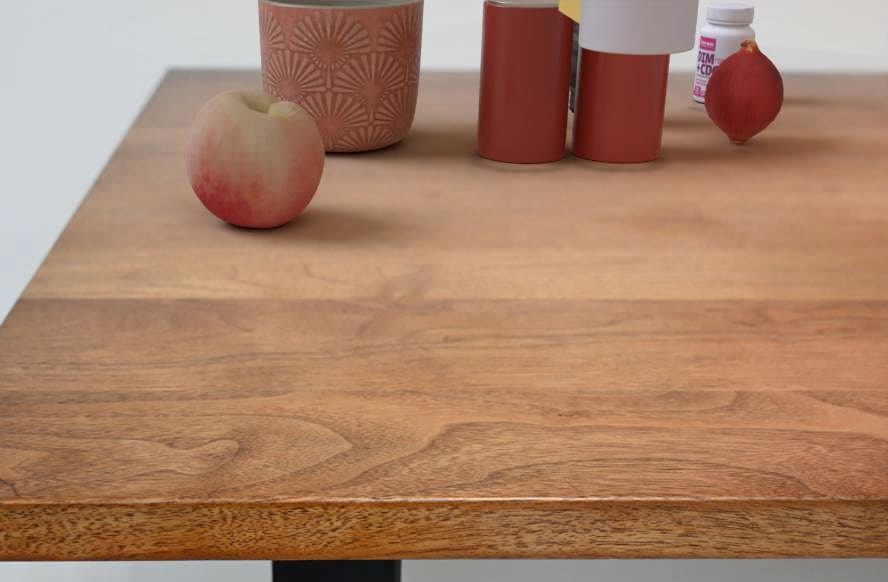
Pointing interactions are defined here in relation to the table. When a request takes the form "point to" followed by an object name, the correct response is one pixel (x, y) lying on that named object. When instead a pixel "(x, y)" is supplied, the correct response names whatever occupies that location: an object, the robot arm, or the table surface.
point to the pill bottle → (720, 39)
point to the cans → (562, 91)
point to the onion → (744, 93)
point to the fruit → (254, 158)
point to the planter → (345, 66)
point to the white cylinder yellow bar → (634, 25)
